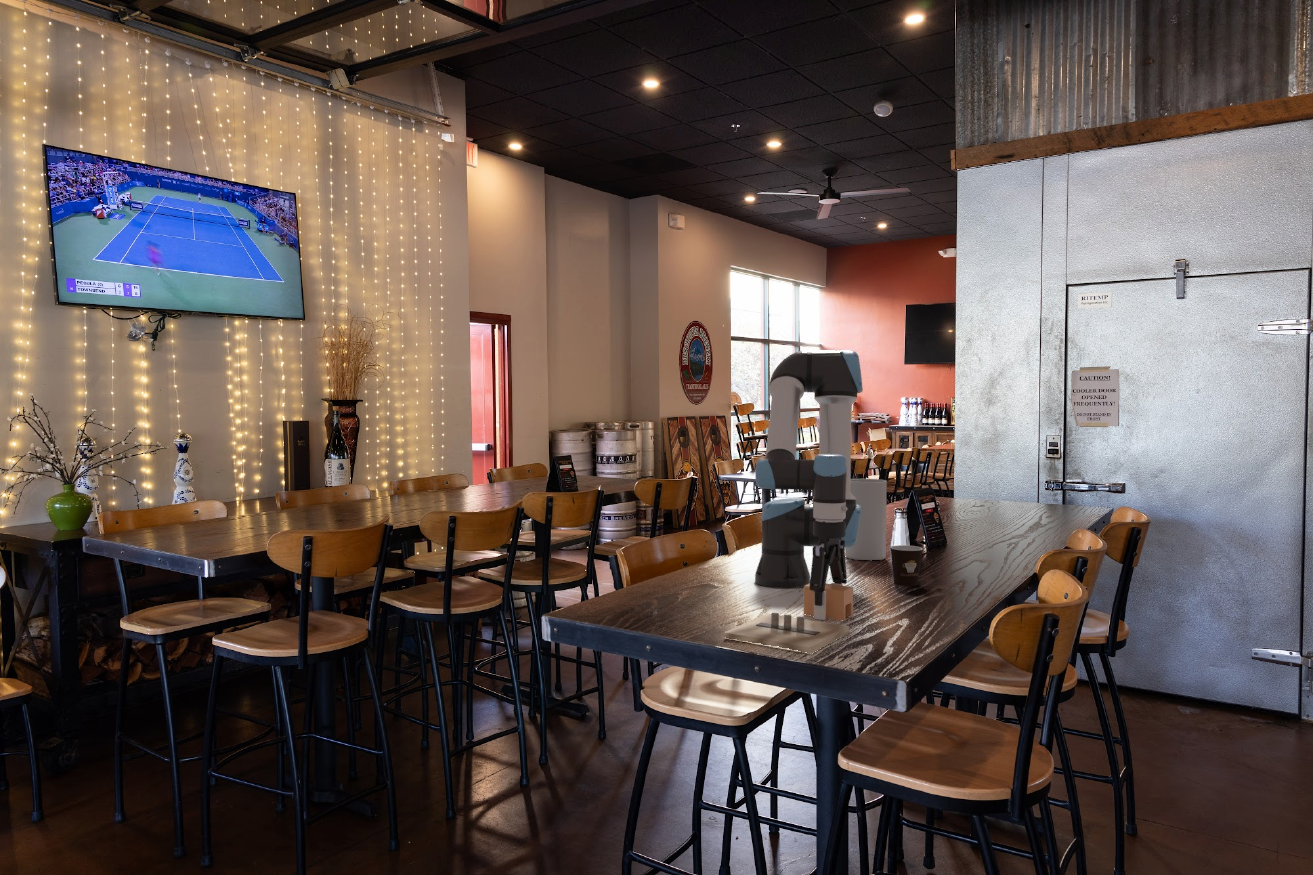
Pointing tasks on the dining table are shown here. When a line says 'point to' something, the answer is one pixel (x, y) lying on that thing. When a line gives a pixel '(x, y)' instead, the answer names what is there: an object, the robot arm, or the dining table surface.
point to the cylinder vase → (869, 519)
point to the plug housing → (831, 601)
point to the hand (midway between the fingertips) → (828, 614)
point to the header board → (788, 632)
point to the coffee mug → (907, 564)
